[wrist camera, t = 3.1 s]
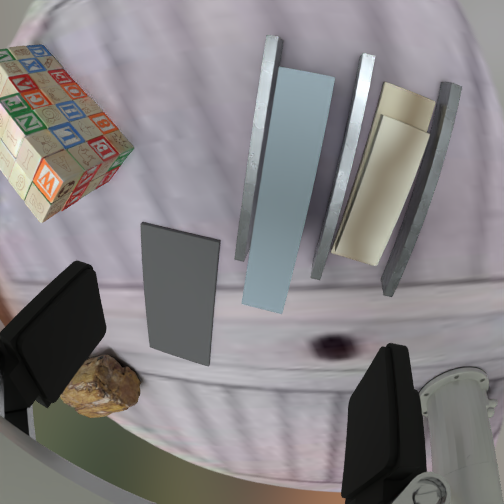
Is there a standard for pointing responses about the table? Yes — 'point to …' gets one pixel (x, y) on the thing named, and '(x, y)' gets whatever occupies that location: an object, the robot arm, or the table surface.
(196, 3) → the table surface
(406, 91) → the offcut lower
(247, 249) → the rack
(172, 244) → the mat
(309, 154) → the panel
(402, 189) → the offcut upper
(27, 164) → the stack of blocks
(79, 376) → the petrified wood
